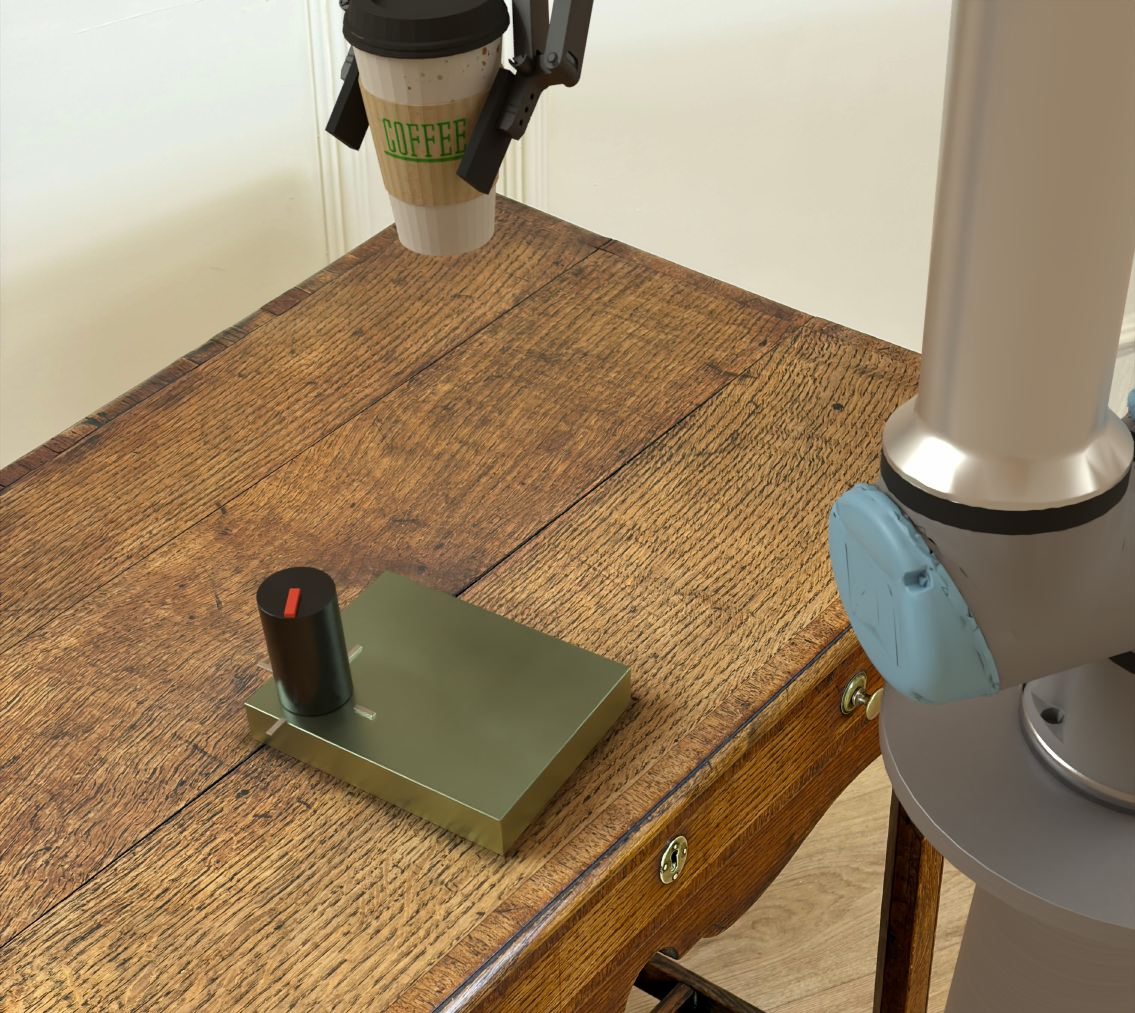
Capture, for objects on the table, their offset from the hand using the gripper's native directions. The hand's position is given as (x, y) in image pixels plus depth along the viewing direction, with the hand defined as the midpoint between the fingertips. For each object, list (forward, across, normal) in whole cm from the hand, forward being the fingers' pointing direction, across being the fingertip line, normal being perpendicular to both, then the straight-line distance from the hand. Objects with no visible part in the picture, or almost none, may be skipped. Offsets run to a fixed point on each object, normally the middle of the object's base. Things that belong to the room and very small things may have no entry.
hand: (405, 162), depth 96 cm
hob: (+30, -16, -3) cm, 34 cm away
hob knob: (+31, -11, +3) cm, 33 cm away
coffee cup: (+2, 0, -6) cm, 7 cm away
